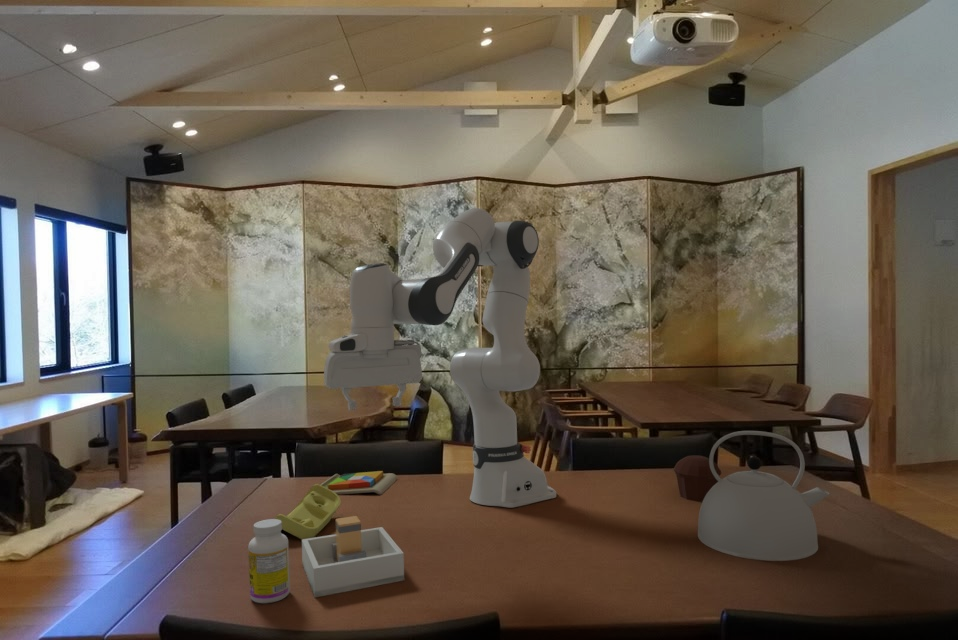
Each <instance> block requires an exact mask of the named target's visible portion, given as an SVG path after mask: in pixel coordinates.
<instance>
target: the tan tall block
mask: <svg viewBox="0 0 958 640" xmlns="http://www.w3.org/2000/svg"><path fill="white" fill-rule="evenodd" d="M361 530H362V523H361V520H360V519H359V517H358V516H357V515H353V516H346V517H340V518H339V517H338V518H336V519H335V534H336V545H337V561H338V562H339V560H338V555H340V554H346V553H352V552H358V551H362V548H361Z"/></svg>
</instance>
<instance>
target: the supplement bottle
mask: <svg viewBox="0 0 958 640" xmlns="http://www.w3.org/2000/svg"><path fill="white" fill-rule="evenodd" d="M253 533H254V535H255V536H254V537H252V538H251V540H250V541H249V543H248V547H247V548H248V570H249V571H248V572H249V573H248V574H249V577H248V578H249V579H248V580H249V594H250V595H249V597H250V600H252V602H254V603H256V604H271V603H277V602H279V601H281V600H283V599H285V598H286V597H287V596H289V594H290V591H291V584H290V583H291V581H290V580H291V579H290V552H289V539H288V537H287V535H285V534H284V533H282V521H281V520H278V519H275V518H268V519H263V520H259V521H256V522H255V523H254V524H253Z"/></svg>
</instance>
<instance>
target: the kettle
mask: <svg viewBox="0 0 958 640" xmlns="http://www.w3.org/2000/svg"><path fill="white" fill-rule="evenodd" d="M748 435H749V436H750V435H751V436H763V437H769V438H770V437H771V438H775V439H778V440H781V441H784V442H786V443H787V444H789V445H790V446H792V448H793V449H794V450H795V451H796V452H797V455H798V458H799V463H800V466H799V471H798V474H797V476H796V478H795V480H794V482H793V484H792V485H791V484H789V483H788V482H787V481H785V480H784V479H782V478H781V477H779V476H777V475H775V474H772V473H769V472H764V471H760V470H759V469H760V468H761V467H762V460H760V458H759V457H756V456H752V457H749V458H748V459H747V466H748V468H749V469H751V470H743V471H737V472H733V473H731V474H728V475H727V476H726V477H724V478H721V477H720V476H718V474H717V473H716V471H715V469H714V465H713V462H714V455H715V452H716V450H717V448H718V447H719V446H720V445H721V444H722V443H723V442H725V441H726V440H728V439H730V438H732V437H738V436H748ZM708 458H709V465H710V469H711V472H712V474H713V475H714V477H715V478H716V479H717V481H718V482H717V483H716V484H715V485H714V486H713V487H712V488H711V489H710V490H709V491H708V493H707V494H706V496H705V498H704V500H703V501H701V505H700V509H699V512H698V520H697V522H698V524H697V525H698V528H697V529H698V530H697V537H698V539H699V541H700V542H701V543H702V544H704V545H705V546H707V547H708V548H711V549H713V550H714V551H717V552H720V553H723V554H726V555H730V556H734V557H737V558H744V559H748V560H756V561H757V560H758V561H767V562H768V561H769V562H778V561H779V562H783V561H787V562H788V561H797V560H801V559H805V558H808V557H811V556H812V555H814V554H816V553H817V551H818V550H819V544H818V542H819V541H818V529H817V524H816V520H815V517H814V513H813V510H812V507H813V506H815V505H817V503H820V501H822V500H823V499H824V498H826V497H827V496H829V495H830V492H829V491H827V490H825V489H823V488H821V487H819V486H818V487H817V486H816V487H815V488H812V489H810V490H807V491H804V492H802V493H801V492H800V491H798V490H797V489H796V488H797V487H798V485H799V483H800V481H801V480H802V478H803V475H804V472H805V469H806V468H805V466H806V463H805V462H806V461H805V458H804V454H803V451H802V450H801V449H800V447H799V446H798V445H797V443H795V442H794V441H792V440H791V439H790V438H788V437H785V436H784V435H781V434H779V433H778V434H777V433H775V432H774V433H773V432H768V431H759V430H740V431H739V430H738V431H733V432H730V433H728V434H725V435H723V436H722V437H720V438H719V439H718V440H717V441H716V442H714V444H713V446H712V447H711V450H710V453H709V457H708Z"/></svg>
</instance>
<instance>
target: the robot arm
mask: <svg viewBox="0 0 958 640" xmlns="http://www.w3.org/2000/svg"><path fill="white" fill-rule="evenodd" d="M539 241H540V239H539V234H538V232H537V230H536V228H535V226H534V225H533V224H532V223H531V222H530V221H529V222H528V221H526V220H514V221H500V222H498V221H497V222H495V219H493V217H492V215H491V214H490V213H489V212H488V211H487V210H485V209H483V208H481V207H472V208H469V209H467V210H465V211H463V212H461V213H459V214H458V215H457V216H455V217H454V218H453V219H451V220H450V221H449V222H448V223H447V224H445V226H443V228H441V229H440V230H439V232H438V233H437V235H435V238H434V239H433V241H432V242H433V243H432V252H433V255H434V258H435V260H436V261H437V263H438V264H439V265H440V266H441V267H442V268H443V269H442V270H441V271H440V273H438V275H435V276H429V277H425V278H416V279H404V278H402V277H400V276H398V275H397V274H395V273H394V272H393V271H392V270H391V269H390V267H389V264H387V263H384V262H383V263H382V262H378V263H377V262H376V263H369V264H363V265H360V266H357V267H356V268H355V269H353V271H352V273H351V278H350V283H349V284H350V285H349V307H350V310H351V311H350V312H351V313H352V319H351V322H350V323H351V324H350V334H347V335H344V336H341V337H339V338H335V339H333V340H331V341H330V342H329V343H328V347H329V350H330V351H331V352H330V353H328V354H327V356H326V358H325V361H324V370H323V383H324V385H325V387H326V388H328V389H330V390H337V389H341V392H342V393H341V394H342V395H343V396H344V398H345V400H346V401H347V409H348V410H349V411H354V410H357V407H358V406H357V400H355V399H352V398H351V396H350V395H349V394H351V391H352V390H351V388H353V389H354V388H363V387H365V388H367V387H379V386H393V385H394V386H395V385H396V388H397V389H398V392H397V394H396V396H393V397H392V398H391V399H392V403H391V404H392V406H394V407H399V406H401V407H402V398H403V396H404V394H405V392H406V390H407V385H409V384H419V383H420V382H421V381H422V380H423V371H422V362H421V357H422V347H421V344H420V343H419V342H417V341H415V339H406V340H404V339H395V326H394V325H425V326H426V325H427V326H439V325H442V324H444V323H445V322H447V320H448V319H449V318H450V316H451V314H452V313H453V311H454V307H455V305H456V303H457V300H458V299H459V296H460V295H461V294H462V291H463V290H464V289H465V287H466V286H467V284H468V283H469V281H470V280H471V278H472V277H473V275H474V274H475V272H476V270H477V269H478V267H484V266H485V267H487V266H489V267H492V271H493V275H492V277H491V280H490V282H489V286H488V291H487V293H486V294H487V295H486V299H485V305H484V309H483V314H482V318H481V320H482V324H483V327H484V329H485V330H486V331H487V332H488V333H490V334H491V335H492V336H493V346H492V347H469V348H465V349H461V350H458V351H456V352H455V353H454V355H453V356H452V357H451V360H450V364H449V373H450V377H451V380H452V381H453V383H455V384H456V385H457V386H458V387H459V388H460V389H461V391H462V392H463V394H464V395H465V397H466V399H467V402H468V404H469V407H470V409H471V414H472V422H473V435H474V436H473V437H474V438H473V441H474V443H473V445H472V462H473V469H474V470H473V479H472V487H471V492H470V494H469V495H470V496H469V500H470V501H471V502H473V503H475V504H477V505H483V506H489V507H490V506H491V507H503V508H509V509H510V508H512V509H513V508H517V507H522V506H527V505H530V504H535V503H539V502H543V501H546V500H551V499H555V498H557V491H556V490H555V489H554V488H553V487H551V486H550V485H548V481H547V477H546V474H545V472H544V471H543V469H542V468H541V467H539V466H537V465H536V464H535V463H533V462H532V461H531V460H529V459H528V458H527V457H525V455H524V453H525V454H530V452H531V451H532V447H531V446H530V445H528V444H522V443H519V442H518V431H517V429H518V425H517V415H516V412H515V411H514V409H513V408H512V407H511V406H509V405H508V404H506V402H505V401H504V399H503V398H502V396H501V393H500V392H519V391H525V390H530V389H533V388H534V386H535V385H536V384H537V382H538V381H539V379H540V375H541V365H540V361H539V359H538V357H537V356H536V355H535V353H534V352H533V351H532V350H531V349H530V347H529V346H528V343H527V340H526V337H525V325H526V315H527V310H528V304H529V299H530V288H531V287H530V286H531V273H530V269H529V266H530V265H531V264H532V262H533V260H534V258H535V257H536V254H537V252H538V249H539V243H540V242H539Z"/></svg>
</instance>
